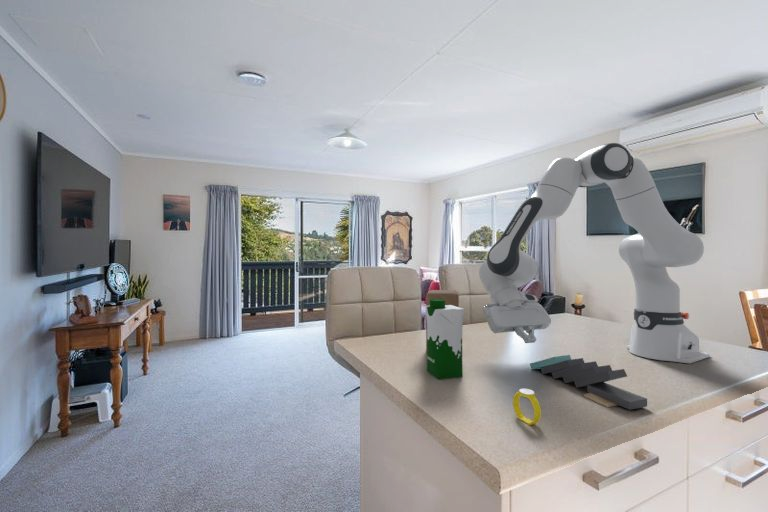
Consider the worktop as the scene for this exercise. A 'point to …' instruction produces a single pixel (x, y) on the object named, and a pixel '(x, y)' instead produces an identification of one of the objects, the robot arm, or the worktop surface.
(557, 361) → the domino
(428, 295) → the block
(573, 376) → the domino
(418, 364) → the worktop surface
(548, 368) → the domino
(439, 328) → the milk carton
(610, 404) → the coaster
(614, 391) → the domino
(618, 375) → the domino
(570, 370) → the domino
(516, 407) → the watch
